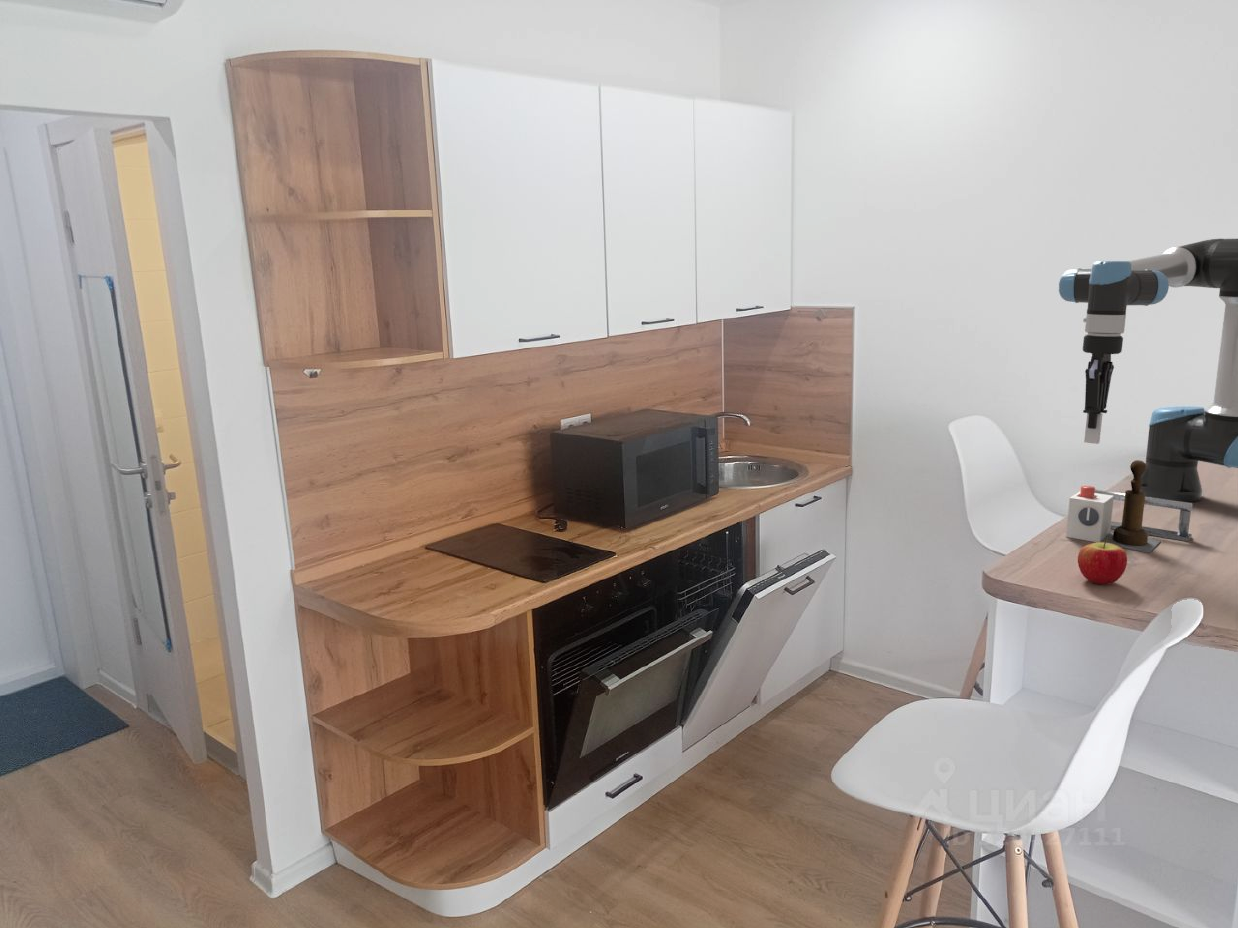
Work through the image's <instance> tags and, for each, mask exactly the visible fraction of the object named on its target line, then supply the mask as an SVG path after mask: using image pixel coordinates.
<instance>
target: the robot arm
mask: <svg viewBox="0 0 1238 928" xmlns="http://www.w3.org/2000/svg"><path fill="white" fill-rule="evenodd" d="M1169 287H1170V288H1182V287H1198V288H1206V289H1207V288H1210V289H1219V292H1218V293H1219V295H1218V298H1219V299H1220V300H1221V301H1222V302H1223V303H1224V304H1225V306H1224V313H1223V321H1222V322H1223V323H1222V330H1221V338H1220V347H1219V353H1218V364H1217V370H1216V371H1217V372H1216V380H1215V387H1214V397H1213V403H1212V404H1211V405H1210V406H1208V407H1207V408H1206V409H1205V408H1204V407H1202V406H1166V407H1160V408H1156V409H1155V410H1153V411H1152V413H1151V417H1150V421H1149V424H1148V426H1149V427H1148V438H1147V444H1146V445H1147V446H1146V455H1145V456H1146V457H1145V462H1144V463H1145V464H1146V471H1145V472H1144V473H1143V475H1142V476H1141V481H1142V482H1143V484H1142V487H1141V489H1140V491H1142V492H1145V493H1146V495H1145V496H1146V497H1153V498H1160V499H1167V500H1174V501H1181V502H1187V503H1194V502H1198V501H1200V500H1202V496H1203V488H1202V483H1201V480H1200V475H1199V471H1198V465H1199V462H1203V463H1208V464H1212V465H1219V466H1224V467H1225V468H1228V469H1230V468H1233V469H1234V468H1235V469H1238V238H1211V239H1205V240H1202V241H1197V242H1193V243H1188V244H1185V245H1180V246H1177V247H1175V246H1174V247H1171V248H1169V249H1166V250H1165V251H1164V252H1163V253H1161V254H1158V255H1153V256H1147V257H1142V258H1137V259H1133V260H1097V261H1095V262H1093V264H1092V266H1091V268H1085V269H1084V268H1081V267H1080V268H1072V269H1068V270H1066V271H1065V272H1064V273H1062V275H1061V277H1060V279H1059V282H1058V293H1059V295H1060V297H1061V299H1063V300H1064V301H1065V302H1072V303H1075V304H1078V303H1084V304H1085V303H1087V309H1086V316H1085V317H1083V323H1085V325H1084V327H1085V329H1084V331H1085V333H1087V334H1085V335H1084V336H1083V344H1082V351H1083V353H1086V354H1091V357H1090V358H1091V359H1090V361H1088V364H1087V368H1086V369H1085V371H1084V372H1085V392H1084V393H1085V394H1084V396H1085V397H1084V398H1085V399H1084V400H1085V401H1084V403H1085V404H1084V409H1083V411H1082V412H1083V413H1084V414H1086V423H1085V429H1084V430H1085V432H1084V441H1083V442H1084V443H1087V444H1096V445H1097V444H1100V442H1101V441H1100V439H1101V432H1102V431H1101V430H1102V423H1103V422H1102V421H1103V415H1104V414H1107V413H1108V409H1106V408H1107V404H1108V397H1109V393H1110V392H1109V391H1110V386H1111V382H1112V381H1111V380H1112V376H1113V371H1114V369H1115V367H1114V363H1113V361H1112V355H1118V354H1120V353H1122V352H1123V341H1124V337H1123V336H1122V335H1121V334H1124V333H1125V327H1126V316H1127V307H1128V306H1146V307H1147V306H1149V305H1156V304H1158V303H1160V302H1162V301H1163V300H1164V299H1165V298H1166V296H1167V294H1168V292H1169Z"/></svg>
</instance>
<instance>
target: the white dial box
mask: <svg viewBox="0 0 1238 928" xmlns="http://www.w3.org/2000/svg"><path fill="white" fill-rule="evenodd" d="M1080 491H1081V490H1079V491H1077V493H1074V494H1073V495H1072V496H1070V497H1069V500H1068V501H1069V502H1068V512H1067V513H1068V514H1067V521H1066V522H1067V523H1066V531H1065V533H1066V534H1065V537H1066V538H1069V539H1071V538H1072V539H1077V540H1081V541H1082V540H1083V541H1087V542H1091V543H1092V542H1093V543H1096V542H1100V541H1101V540H1102V539H1103V538H1105V537H1106V536H1107V535H1108V534H1110V533H1111V529H1110V527H1111V521H1112V518H1113V517H1112V516H1113V508H1114V507H1113V506H1114V501H1115V500H1114V496H1112V495H1105V494H1099V493H1094V499H1091V498H1084V497H1080Z"/></svg>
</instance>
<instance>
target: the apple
mask: <svg viewBox="0 0 1238 928" xmlns="http://www.w3.org/2000/svg"><path fill="white" fill-rule="evenodd" d="M1109 537H1110V535H1109V536H1108V537H1107V539H1106V541H1107V540H1108V538H1109ZM1106 541H1105V543H1104V542H1093V543H1092V542H1091V543H1089V544H1087V545H1084V546H1083V547H1082V548H1081V549H1079V552H1078V555H1077V564H1078V569H1079V570H1080V573H1081V574H1082V576H1083V577H1084V578H1085V579H1086V580H1087V581H1089V582H1090V583H1093V584H1096V585H1103V586H1106V585H1110V584H1113V583H1115V582H1117V581H1118V580H1119V579H1120V578H1121V577H1122V576H1123V574H1124V573H1125V571H1126V568H1127V565H1128V556H1127V552H1126V549H1124V548H1121V547H1119V546H1117V545H1114V544H1110V543H1106Z"/></svg>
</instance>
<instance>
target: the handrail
mask: <svg viewBox="0 0 1238 928" xmlns="http://www.w3.org/2000/svg"><path fill="white" fill-rule="evenodd" d="M1095 493H1099V494H1105V495H1112V496H1114V500H1113V501H1120V502H1124V500H1125V493H1123V492H1118V491H1110V490H1103V489H1096V488H1095ZM1145 505H1147V506H1154V507H1158V508H1159V507H1160V508H1167V509H1172V510H1179V511H1180V512H1179V520H1178V526H1177V527H1178V528H1177V531H1173V530H1169V529H1160V528H1156V527H1150V526H1143V525H1142V528H1143V529H1144V530H1145V531H1146V532H1147V533H1148V536H1153V537H1160V538H1164V539H1166V538H1167V539H1171V540H1177V541H1183V542H1189V541H1190V540H1191V539H1192V537H1193V534H1192V533H1189V529H1190V522H1191V514H1192V509H1193V502H1181V501H1174V500H1167V499H1160V498H1153V497H1146V496H1145V503H1144V506H1145ZM1121 525H1122V522H1119V521H1113V520H1111V527H1110V530H1114V529H1116V528H1117V527H1119V526H1121Z"/></svg>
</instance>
